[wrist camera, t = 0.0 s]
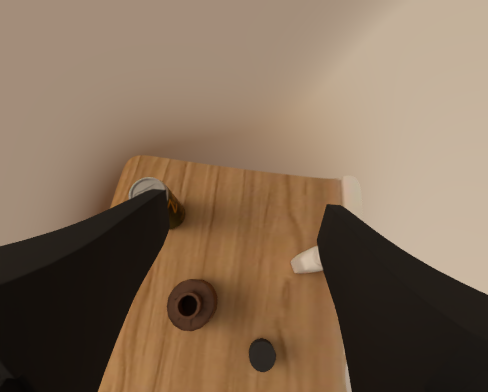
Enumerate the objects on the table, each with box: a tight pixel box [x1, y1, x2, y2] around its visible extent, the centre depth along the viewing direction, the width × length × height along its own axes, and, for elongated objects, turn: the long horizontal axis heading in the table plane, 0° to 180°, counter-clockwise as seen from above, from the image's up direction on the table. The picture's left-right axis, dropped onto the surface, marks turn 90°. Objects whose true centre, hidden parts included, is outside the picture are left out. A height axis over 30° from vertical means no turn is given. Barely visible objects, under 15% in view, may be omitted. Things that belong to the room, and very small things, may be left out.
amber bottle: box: [167, 279, 218, 331], centre depth 36 cm, size 7×7×7 cm
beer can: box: [129, 177, 185, 229], centre depth 38 cm, size 5×5×12 cm
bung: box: [249, 338, 276, 372], centre depth 35 cm, size 4×4×3 cm
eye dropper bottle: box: [291, 246, 323, 274], centre depth 36 cm, size 4×6×12 cm
